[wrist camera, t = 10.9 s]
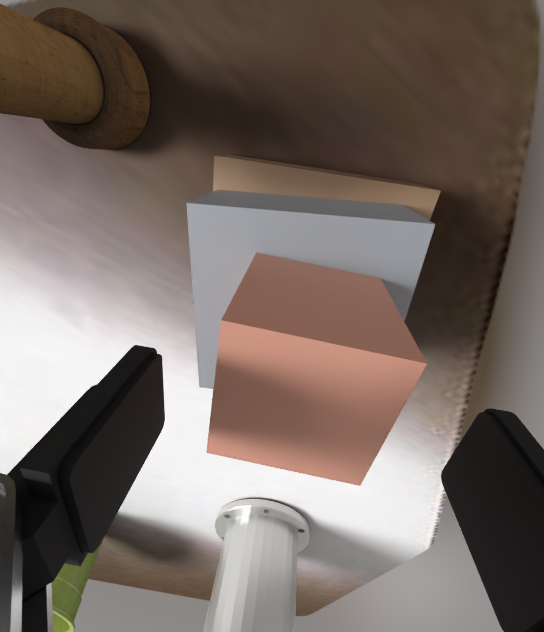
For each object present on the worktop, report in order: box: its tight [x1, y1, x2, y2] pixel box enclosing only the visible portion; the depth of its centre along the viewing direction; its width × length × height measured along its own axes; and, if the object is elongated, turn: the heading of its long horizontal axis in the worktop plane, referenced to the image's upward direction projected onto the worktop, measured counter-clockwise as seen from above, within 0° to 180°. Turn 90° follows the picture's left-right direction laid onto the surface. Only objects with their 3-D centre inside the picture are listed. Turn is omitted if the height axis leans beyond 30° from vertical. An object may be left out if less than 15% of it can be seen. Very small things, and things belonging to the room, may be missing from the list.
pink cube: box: [207, 252, 427, 486], centre depth 12 cm, size 6×6×6 cm
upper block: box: [187, 189, 435, 389], centre depth 17 cm, size 10×10×5 cm
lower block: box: [213, 155, 441, 221], centre depth 21 cm, size 12×12×5 cm
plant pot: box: [51, 540, 103, 632], centre depth 40 cm, size 12×12×11 cm
